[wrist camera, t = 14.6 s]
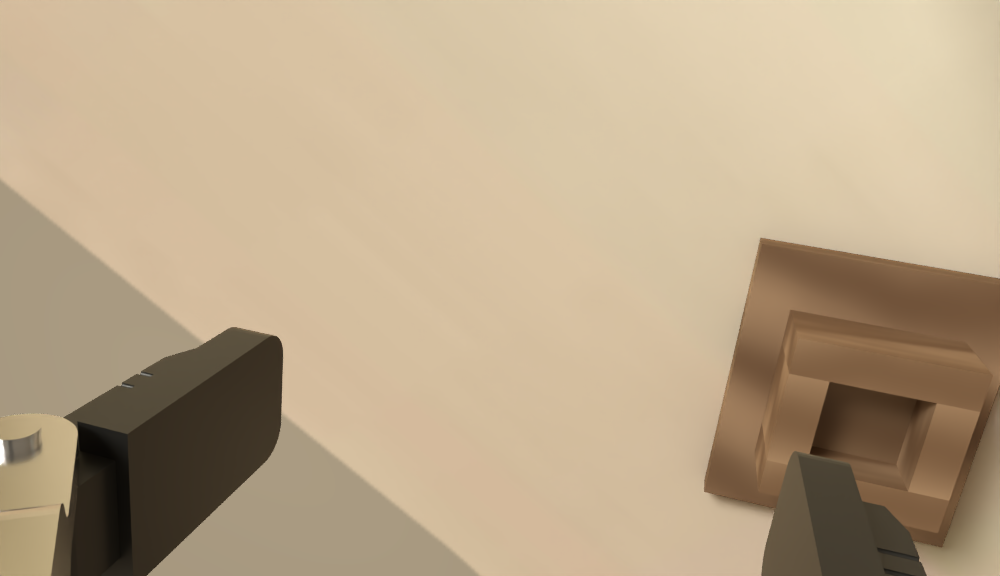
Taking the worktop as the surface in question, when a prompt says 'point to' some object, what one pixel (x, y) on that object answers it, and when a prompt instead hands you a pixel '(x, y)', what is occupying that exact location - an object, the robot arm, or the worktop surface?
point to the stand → (860, 380)
